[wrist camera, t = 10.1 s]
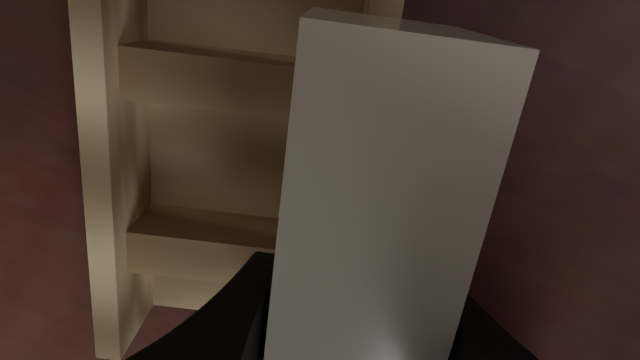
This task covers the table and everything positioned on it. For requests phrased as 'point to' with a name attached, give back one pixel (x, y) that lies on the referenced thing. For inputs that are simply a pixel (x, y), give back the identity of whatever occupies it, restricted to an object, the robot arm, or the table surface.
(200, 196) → the wooden compartment tray
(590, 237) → the table surface
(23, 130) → the table surface
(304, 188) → the grayish beige rectangular block
